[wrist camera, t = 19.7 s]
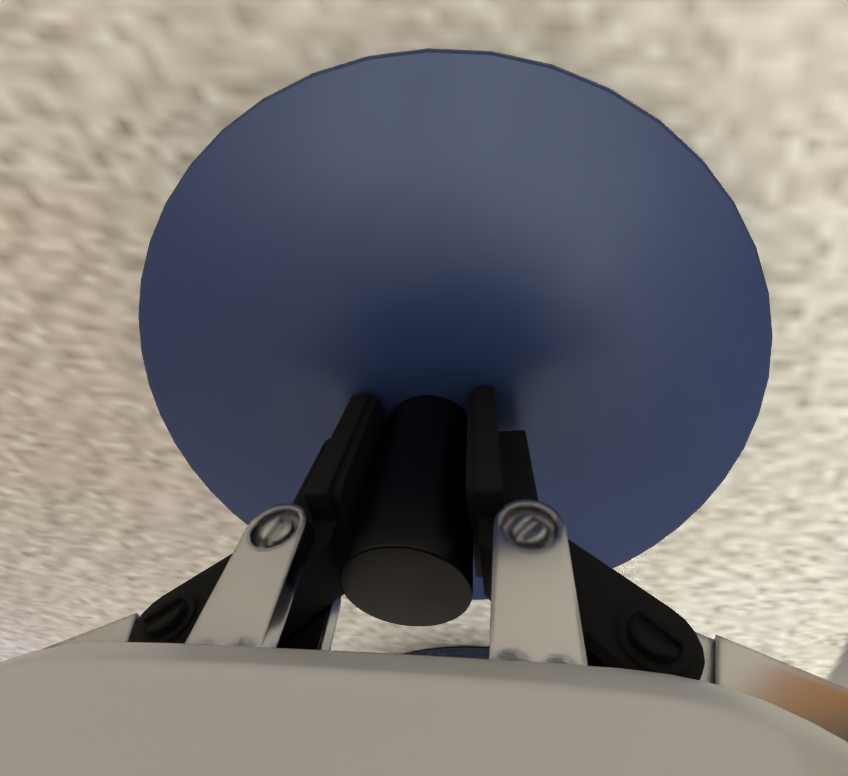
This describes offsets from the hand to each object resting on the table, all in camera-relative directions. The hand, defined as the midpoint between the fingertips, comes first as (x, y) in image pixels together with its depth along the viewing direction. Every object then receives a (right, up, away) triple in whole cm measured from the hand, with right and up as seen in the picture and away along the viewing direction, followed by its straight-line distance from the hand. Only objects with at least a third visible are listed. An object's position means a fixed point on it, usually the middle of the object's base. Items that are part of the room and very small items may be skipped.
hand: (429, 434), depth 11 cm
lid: (0, 0, +1) cm, 1 cm away
